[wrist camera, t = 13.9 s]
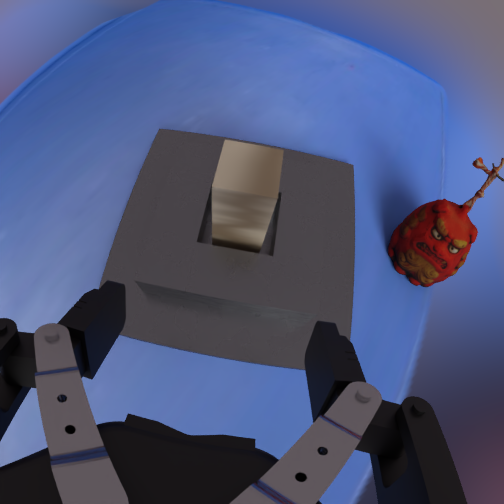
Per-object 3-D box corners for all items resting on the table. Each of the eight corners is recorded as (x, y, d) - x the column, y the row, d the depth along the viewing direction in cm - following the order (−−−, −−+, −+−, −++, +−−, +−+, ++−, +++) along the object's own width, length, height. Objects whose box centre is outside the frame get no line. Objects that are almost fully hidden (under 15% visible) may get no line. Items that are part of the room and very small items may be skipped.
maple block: (212, 249, 27) (211, 186, 19) (221, 210, 29) (224, 139, 20) (257, 257, 27) (277, 198, 19) (263, 217, 29) (283, 150, 20)
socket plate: (93, 327, 24) (74, 318, 21) (160, 134, 33) (156, 109, 29) (342, 373, 25) (361, 371, 21) (350, 170, 34) (363, 148, 30)
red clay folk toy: (374, 262, 30) (468, 177, 16) (395, 214, 32) (474, 126, 19) (429, 302, 29) (536, 243, 15) (445, 251, 31) (534, 183, 18)
